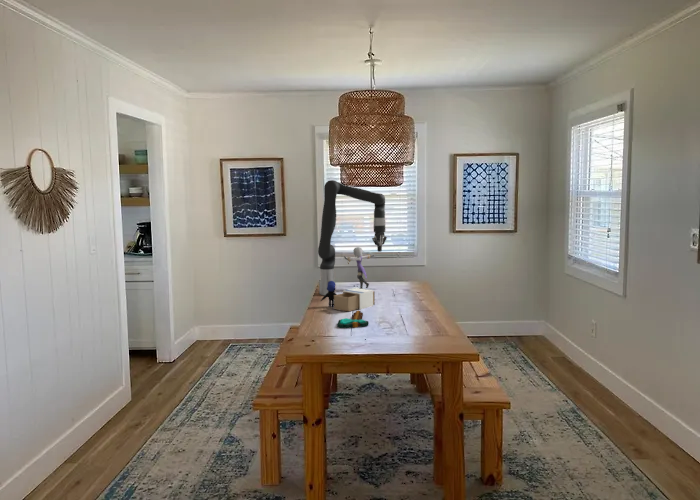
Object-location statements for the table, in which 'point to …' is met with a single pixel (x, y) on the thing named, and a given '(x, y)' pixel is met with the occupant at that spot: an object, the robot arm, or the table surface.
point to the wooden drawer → (348, 301)
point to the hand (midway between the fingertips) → (379, 251)
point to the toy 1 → (330, 292)
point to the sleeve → (362, 297)
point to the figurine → (361, 270)
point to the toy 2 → (353, 321)
